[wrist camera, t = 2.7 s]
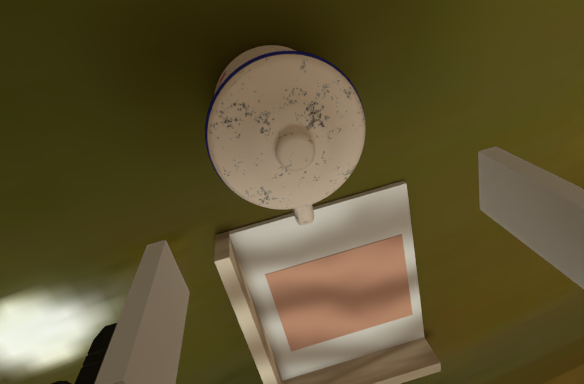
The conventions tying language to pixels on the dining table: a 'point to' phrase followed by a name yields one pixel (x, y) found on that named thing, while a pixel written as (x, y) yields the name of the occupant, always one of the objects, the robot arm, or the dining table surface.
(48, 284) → the dining table surface
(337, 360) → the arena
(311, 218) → the teacup with lid
